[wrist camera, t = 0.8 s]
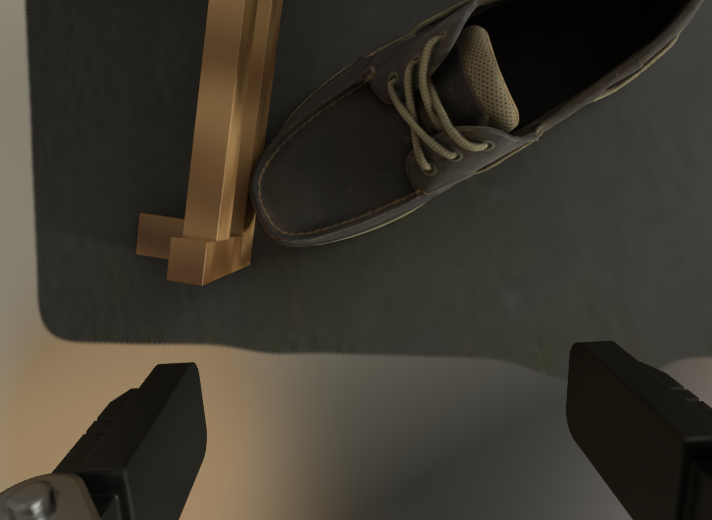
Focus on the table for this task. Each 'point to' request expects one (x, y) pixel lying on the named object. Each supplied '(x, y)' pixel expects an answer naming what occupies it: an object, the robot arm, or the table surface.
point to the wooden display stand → (221, 147)
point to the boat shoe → (448, 107)
